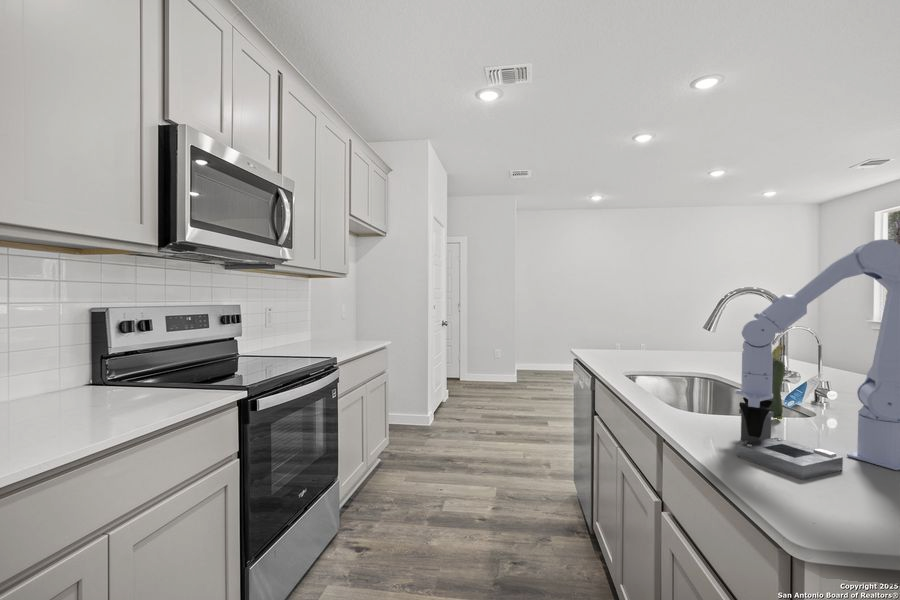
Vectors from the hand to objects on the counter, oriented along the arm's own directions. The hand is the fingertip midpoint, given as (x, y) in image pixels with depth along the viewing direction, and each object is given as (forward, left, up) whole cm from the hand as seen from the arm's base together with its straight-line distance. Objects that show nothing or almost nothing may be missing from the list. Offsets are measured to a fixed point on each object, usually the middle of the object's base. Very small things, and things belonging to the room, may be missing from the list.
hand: (755, 432), depth 100 cm
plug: (0, 0, -2) cm, 2 cm away
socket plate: (+7, +11, -2) cm, 13 cm away
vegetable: (-22, -10, -2) cm, 24 cm away
